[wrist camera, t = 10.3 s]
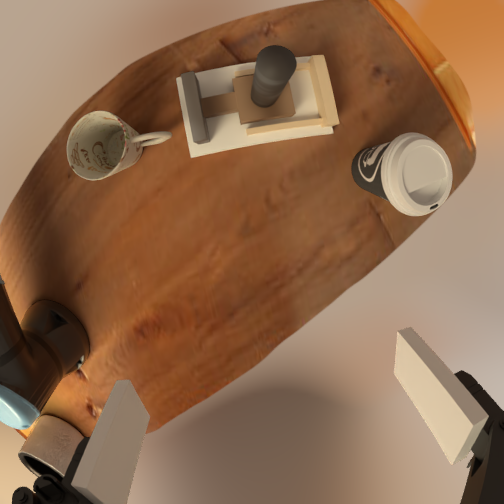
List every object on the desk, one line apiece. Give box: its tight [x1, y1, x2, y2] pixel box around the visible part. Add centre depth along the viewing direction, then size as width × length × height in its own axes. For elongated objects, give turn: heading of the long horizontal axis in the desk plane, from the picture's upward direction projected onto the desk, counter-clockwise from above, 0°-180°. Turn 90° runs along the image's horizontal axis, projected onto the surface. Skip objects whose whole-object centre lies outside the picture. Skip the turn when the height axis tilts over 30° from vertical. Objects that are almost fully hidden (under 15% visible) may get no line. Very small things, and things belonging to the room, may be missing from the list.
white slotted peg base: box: [176, 55, 339, 158], centre depth 36 cm, size 20×12×4 cm, turn 101°
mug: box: [67, 111, 172, 180], centre depth 34 cm, size 8×13×10 cm, turn 98°
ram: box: [181, 45, 297, 144], centre depth 29 cm, size 13×9×16 cm
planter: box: [18, 415, 84, 482], centre depth 49 cm, size 16×16×16 cm
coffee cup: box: [352, 132, 452, 216], centre depth 34 cm, size 10×10×15 cm
